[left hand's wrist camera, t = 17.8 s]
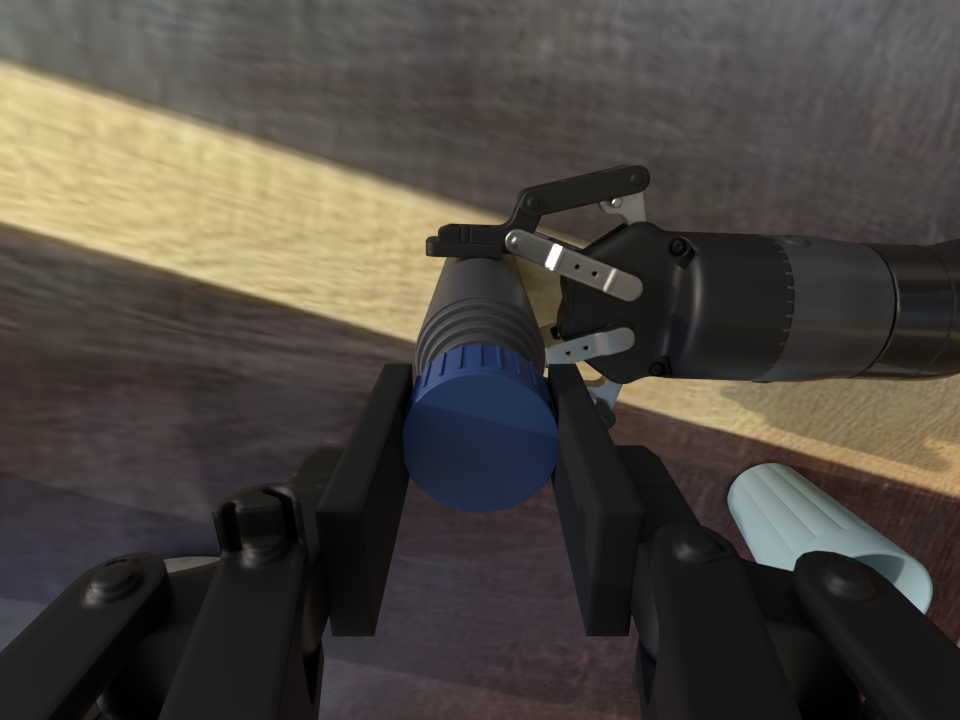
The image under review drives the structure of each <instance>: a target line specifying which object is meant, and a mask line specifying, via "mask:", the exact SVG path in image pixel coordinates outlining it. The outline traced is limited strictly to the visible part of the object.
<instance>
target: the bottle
mask: <svg viewBox="0 0 960 720" xmlns="http://www.w3.org/2000/svg"><path fill="white" fill-rule="evenodd" d="M478 343H481V345H493V346H497V345H500V347H501V348H505V349H508V350H510V351H512V352H515V351H516V352H517V353H518V355H520V356H521V357H523V358H524V359H525V360H527V361H528V362H530V361H531V362H532V364H533V367H534V368H535V369H536V370H537V372H538V373H539V374H540V375H541V374H542V375H543V374H544V367H545V359H546V353H545V345H544V341H543V338H542V335H541V332H540V329H539V326H538V324H537V321H536V318H535V315H534V313H533V310H532V307H531V304H530V302H529V299H528V296H527V293H526V290H525V288H524V285H523V282H522V279H521V277H520V274H519V271H518V268H517V266H516V263H515V260H514V258H513V256H512V254H502V259H487V258H456V257H447V259H446V261H445V264H444V266H443V269H442V272H441V275H440V277H439V280H438V283H437V286H436V289H435V291H434V294H433V297H432V300H431V302H430V305H429V308H428V311H427V314H426V316H425V319H424V322H423V325H422V327H421V330H420V333H419V336H418V339H417V343H416V347H415V365H416V372H417V376H418V375H421V373H422V372H423V371H424V370H425V368H426V367H427V365H428V363H429V362H433V361H434V360H435V359H436V358H438V357H439V356H441V355H442V353H443V352H448V351H450V350H453V349H456V348H459V347H460V346H461V345H463V346H467V345H477V344H478Z"/></svg>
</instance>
